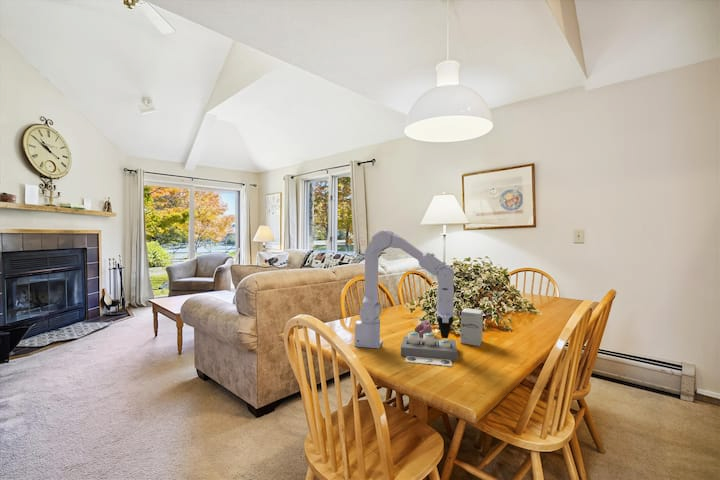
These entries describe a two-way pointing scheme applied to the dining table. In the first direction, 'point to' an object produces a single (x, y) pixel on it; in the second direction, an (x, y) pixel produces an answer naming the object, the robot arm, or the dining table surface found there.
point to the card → (428, 361)
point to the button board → (429, 350)
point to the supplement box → (471, 326)
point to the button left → (413, 338)
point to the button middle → (428, 339)
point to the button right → (444, 343)
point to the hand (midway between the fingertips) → (444, 337)
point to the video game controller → (423, 328)
